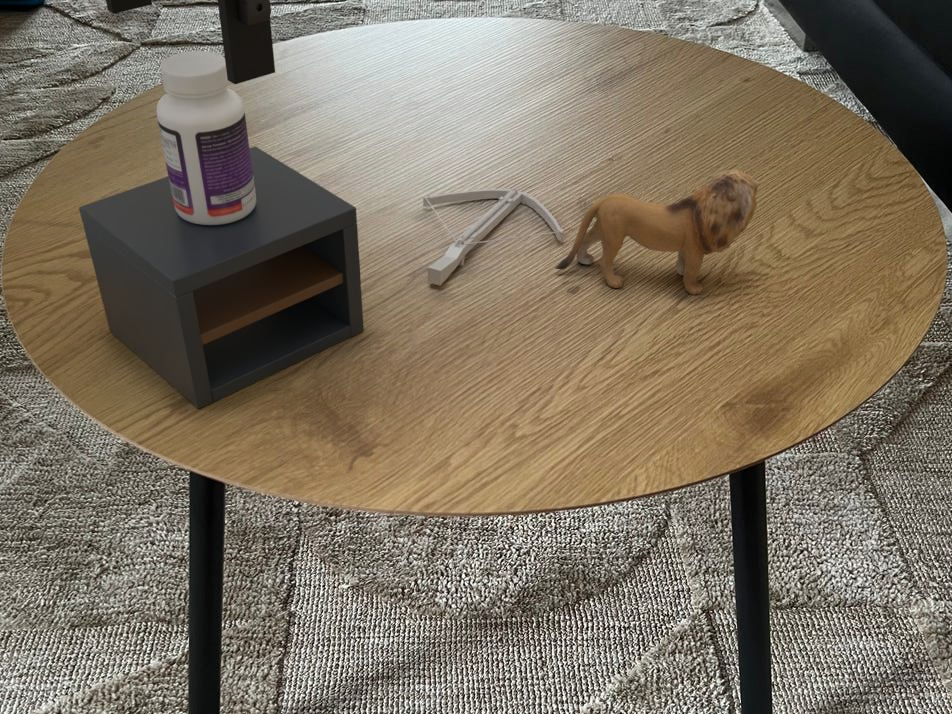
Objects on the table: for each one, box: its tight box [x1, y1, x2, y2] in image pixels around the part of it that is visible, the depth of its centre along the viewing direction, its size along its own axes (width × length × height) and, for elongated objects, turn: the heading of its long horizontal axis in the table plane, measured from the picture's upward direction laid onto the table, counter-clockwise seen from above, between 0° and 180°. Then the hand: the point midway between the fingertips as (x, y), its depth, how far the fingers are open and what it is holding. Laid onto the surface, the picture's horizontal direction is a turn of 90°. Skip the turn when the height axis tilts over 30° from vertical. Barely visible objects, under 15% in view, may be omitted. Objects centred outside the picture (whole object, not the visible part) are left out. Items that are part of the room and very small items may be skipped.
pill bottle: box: [156, 50, 256, 225], centre depth 70 cm, size 5×5×10 cm
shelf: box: [78, 146, 365, 410], centre depth 77 cm, size 12×14×10 cm
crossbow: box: [422, 188, 565, 286], centre depth 89 cm, size 16×13×2 cm
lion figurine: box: [555, 169, 759, 296], centre depth 83 cm, size 15×5×9 cm, turn 90°
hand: (187, 40), depth 66 cm, fingers open, 13 cm apart
